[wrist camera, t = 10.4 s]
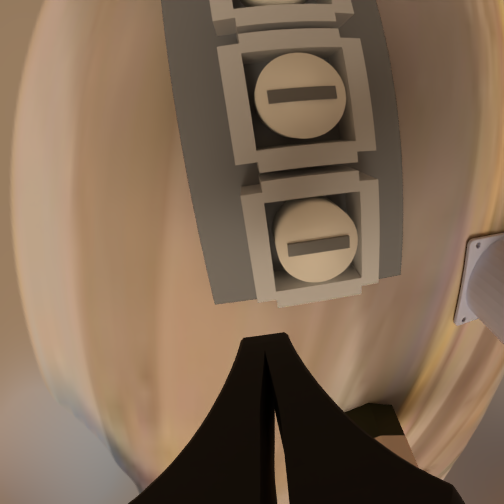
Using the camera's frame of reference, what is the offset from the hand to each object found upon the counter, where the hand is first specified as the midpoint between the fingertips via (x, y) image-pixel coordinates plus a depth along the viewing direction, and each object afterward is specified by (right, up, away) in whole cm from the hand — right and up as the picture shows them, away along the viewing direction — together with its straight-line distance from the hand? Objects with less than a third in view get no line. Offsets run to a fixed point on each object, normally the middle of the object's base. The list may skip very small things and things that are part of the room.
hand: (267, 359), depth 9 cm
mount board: (+2, +12, +7) cm, 13 cm away
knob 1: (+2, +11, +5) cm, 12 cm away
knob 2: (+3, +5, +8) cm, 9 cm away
